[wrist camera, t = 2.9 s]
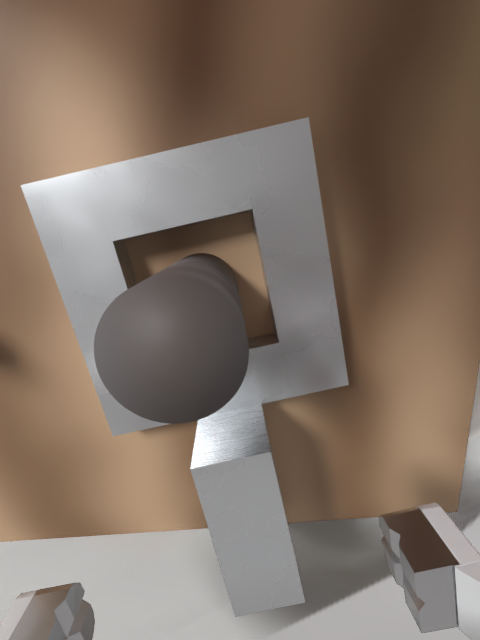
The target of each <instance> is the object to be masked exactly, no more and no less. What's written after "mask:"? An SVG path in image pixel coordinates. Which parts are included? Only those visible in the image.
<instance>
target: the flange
mask: <svg viewBox="0 0 480 640" xmlns="http://www.w3.org/2000/svg"><path fill="white" fill-rule="evenodd" d="M21 188H22V191H23V193H24V196H25V199H26V202H27V204H28V207H29V210H30V213H31V215H32V218H33V221H34V223H35V226H36V229H37V232H38V234H39V237H40V240H41V242H42V245H43V248H44V251H45V253H46V256H47V259H48V261H49V264H50V267H51V270H52V272H53V275H54V278H55V281H56V283H57V286H58V289H59V291H60V294H61V297H62V300H63V302H64V305H65V308H66V310H67V313H68V316H69V319H70V321H71V324H72V327H73V329H74V332H75V335H76V338H77V340H78V343H79V346H80V348H81V351H82V354H83V357H84V359H85V362H86V365H87V368H88V370H89V373H90V376H91V378H92V381H93V384H94V387H95V389H96V392H97V395H98V397H99V400H100V403H101V406H102V408H103V411H104V414H105V416H106V419H107V422H108V425H109V427H110V430H111V433H112V436H117V435H121V434H126V433H131V432H135V431H140V430H144V429H149V428H154V427H158V426H163V425H167V424H169V423H160V422H156V421H151V420H148V419H145V418H143V417H140V416H138V415H136V414H134V413H132V412H131V411H129V410H128V409H126V408H125V407H123V406H122V405H121V404H120V403H119V402H117V401H116V400H115V398H114V397H113V396H112V395H111V394H110V393H109V391H108V390H107V389H106V387H105V386H104V384H103V382H102V380H101V378H100V376H99V374H98V371H97V368H96V364H95V360H94V338H95V332H96V329H97V326H98V323H99V321H100V319H101V317H102V315H103V313H104V312H105V310H106V309H107V307H108V306H109V305H110V304H111V303H112V302H113V301H114V299H115V298H116V297H118V296H119V295H120V294H122V293H123V292H124V291H126V290H128V289H129V288H131V287H133V286H135V285H136V284H137V282H136V279H135V275H134V272H133V269H132V265H131V262H130V259H129V256H128V252H127V249H126V246H125V242H124V240H128V239H133V238H137V237H141V236H146V235H150V234H154V233H159V232H163V231H167V230H172V229H176V228H180V227H185V226H189V225H193V224H198V223H202V222H206V221H210V220H215V219H219V218H223V217H228V216H232V215H236V214H241V213H245V212H249V211H250V214H251V219H252V224H253V229H254V234H255V239H256V244H257V248H258V253H259V258H260V263H261V268H262V273H263V278H264V283H265V288H266V293H267V297H268V302H269V307H270V312H271V317H272V322H273V327H274V332H275V333H272V334H267V335H263V336H258V337H254V338H249V339H248V347H249V362H248V367H247V372H246V375H245V378H244V380H243V382H242V384H241V387H240V388H239V390H238V391H237V393H236V394H235V395H234V397H233V398H232V399H231V400H230V401H229V402H228V403H227V404H226V405H225V406H224V407H223V408H221V409H220V410H218V411H217V412H215V413H213V414H211V415H210V416H208V417H205V418H203V419H200V420H198V424H197V430H196V436H195V443H194V449H193V455H192V462H191V468H190V470H191V473H192V477H193V480H194V483H195V486H196V490H197V493H198V496H199V499H200V503H201V506H202V509H203V512H204V516H205V519H206V522H207V525H208V529H209V532H210V535H211V538H212V542H213V545H214V548H215V551H216V555H217V558H218V561H219V564H220V568H221V571H222V574H223V577H224V581H225V584H226V587H227V590H228V594H229V597H230V600H231V603H232V607H233V610H234V613H235V616H236V617H237V616H242V615H247V614H252V613H257V612H262V611H267V610H272V609H276V608H281V607H286V606H291V605H296V604H301V603H305V598H304V593H303V589H302V584H301V579H300V574H299V570H298V565H297V560H296V555H295V551H294V546H293V541H292V536H291V531H290V527H289V522H288V517H287V512H286V508H285V503H284V499H283V494H282V490H281V486H280V481H279V477H278V473H277V468H276V464H275V459H274V455H273V451H272V446H271V442H270V437H269V433H268V429H267V424H266V420H265V415H264V411H263V407H262V404H264V403H268V402H273V401H277V400H282V399H286V398H291V397H296V396H300V395H305V394H309V393H314V392H319V391H323V390H328V389H332V388H337V387H341V386H346V385H349V383H348V376H347V369H346V363H345V356H344V349H343V343H342V336H341V329H340V323H339V316H338V309H337V303H336V296H335V289H334V283H333V276H332V269H331V263H330V256H329V249H328V243H327V236H326V229H325V223H324V216H323V209H322V203H321V196H320V189H319V183H318V176H317V169H316V163H315V156H314V149H313V143H312V136H311V129H310V123H309V117H307V118H303V119H299V120H295V121H290V122H286V123H282V124H278V125H273V126H269V127H265V128H261V129H256V130H252V131H248V132H244V133H240V134H235V135H231V136H227V137H223V138H218V139H214V140H210V141H206V142H202V143H197V144H193V145H189V146H185V147H180V148H176V149H172V150H168V151H163V152H159V153H155V154H151V155H147V156H142V157H138V158H134V159H130V160H125V161H121V162H117V163H113V164H108V165H104V166H100V167H96V168H92V169H87V170H83V171H79V172H75V173H70V174H66V175H62V176H58V177H54V178H49V179H45V180H41V181H37V182H32V183H28V184H24V185H21Z"/></svg>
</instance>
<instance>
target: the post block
mask: <svg viewBox="0 0 480 640" xmlns="http://www.w3.org/2000/svg"><path fill="white" fill-rule="evenodd" d="M307 117H309V123H310V129H311V136H312V143H313V149H314V156H315V163H316V169H317V176H318V183H319V189H320V196H321V203H322V209H323V216H324V223H325V229H326V236H327V243H328V249H329V256H330V263H331V269H332V276H333V283H334V289H335V296H336V303H337V309H338V316H339V323H340V329H341V336H342V343H343V349H344V356H345V363H346V369H347V376H348V383H349V385H346V386H341V387H337V388H332V389H328V390H323V391H319V392H314V393H309V394H305V395H300V396H296V397H291V398H286V399H282V400H277V401H273V402H268V403H264V404H262V407H263V411H264V415H265V420H266V424H267V429H268V433H269V437H270V442H271V446H272V451H273V455H274V459H275V464H276V468H277V473H278V477H279V481H280V486H281V490H282V494H283V499H284V503H285V508H286V512H287V517H288V522H289V523H293V522H308V521H323V520H339V519H354V518H369V517H379V515H382V514H386V513H391V512H395V511H399V510H403V509H408V508H412V507H417V506H422V505H426V504H431V503H437V504H439V505H440V506H441V507H442V509H443V510H444V511H445V512H457V510H458V503H459V497H460V490H461V483H462V476H463V470H464V463H465V456H466V449H467V443H468V436H469V429H470V422H471V416H472V409H473V402H474V395H475V389H476V382H477V375H478V368H479V362H480V0H0V542H5V541H20V540H35V539H50V538H65V537H81V536H96V535H111V534H126V533H141V532H156V531H172V530H187V529H202V528H208V525H207V522H206V519H205V516H204V512H203V509H202V506H201V503H200V499H199V496H198V493H197V490H196V486H195V483H194V480H193V477H192V473H191V470H190V468H191V462H192V455H193V449H194V443H195V436H196V430H197V424H198V420H200V419H203V418H205V417H208V416H210V415H211V414H213V413H215V412H217V411H218V410H220V409H221V408H223V407H224V406H225V405H226V404H227V403H228V402H229V401H230V400H231V399H232V398H233V397H234V395H235V394H236V393H237V391H238V390H239V388H240V387H241V384H242V382H243V380H244V378H245V375H246V372H247V367H248V362H249V347H248V339H249V338H254V337H258V336H263V335H267V334H272V333H275V332H274V327H273V322H272V317H271V312H270V307H269V302H268V297H267V293H266V288H265V283H264V278H263V273H262V268H261V263H260V258H259V253H258V248H257V244H256V239H255V234H254V229H253V224H252V219H251V214H250V211H249V212H245V213H241V214H236V215H232V216H228V217H223V218H219V219H215V220H210V221H206V222H202V223H198V224H193V225H189V226H185V227H180V228H176V229H172V230H167V231H163V232H159V233H154V234H150V235H146V236H141V237H137V238H133V239H128V240H124V242H125V246H126V249H127V252H128V256H129V259H130V262H131V265H132V269H133V272H134V275H135V279H136V282H137V284H136V285H135V286H133V287H131V288H129V289H128V290H126V291H124V292H123V293H122V294H120V295H119V296H118V297H116V298H115V299H114V301H113V302H112V303H111V304H110V305H109V306H108V307H107V309H106V310H105V312H104V313H103V315H102V317H101V319H100V321H99V323H98V326H97V329H96V332H95V338H94V360H95V364H96V368H97V371H98V374H99V376H100V378H101V380H102V382H103V384H104V386H105V387H106V389H107V390H108V391H109V393H110V394H111V395H112V396H113V397H114V398H115V400H116V401H117V402H119V403H120V404H121V405H122V406H123V407H125V408H126V409H128V410H129V411H131V412H132V413H134V414H136V415H138V416H140V417H143V418H145V419H148V420H151V421H156V422H160V423H169V424H167V425H163V426H158V427H154V428H149V429H144V430H140V431H135V432H131V433H126V434H121V435H117V436H112V433H111V430H110V427H109V425H108V422H107V419H106V416H105V414H104V411H103V408H102V406H101V403H100V400H99V397H98V395H97V392H96V389H95V387H94V384H93V381H92V378H91V376H90V373H89V370H88V368H87V365H86V362H85V359H84V357H83V354H82V351H81V348H80V346H79V343H78V340H77V338H76V335H75V332H74V329H73V327H72V324H71V321H70V319H69V316H68V313H67V310H66V308H65V305H64V302H63V300H62V297H61V294H60V291H59V289H58V286H57V283H56V281H55V278H54V275H53V272H52V270H51V267H50V264H49V261H48V259H47V256H46V253H45V251H44V248H43V245H42V242H41V240H40V237H39V234H38V232H37V229H36V226H35V223H34V221H33V218H32V215H31V213H30V210H29V207H28V204H27V202H26V199H25V196H24V193H23V191H22V188H21V185H24V184H28V183H32V182H37V181H41V180H45V179H49V178H54V177H58V176H62V175H66V174H70V173H75V172H79V171H83V170H87V169H92V168H96V167H100V166H104V165H108V164H113V163H117V162H121V161H125V160H130V159H134V158H138V157H142V156H147V155H151V154H155V153H159V152H163V151H168V150H172V149H176V148H180V147H185V146H189V145H193V144H197V143H202V142H206V141H210V140H214V139H218V138H223V137H227V136H231V135H235V134H240V133H244V132H248V131H252V130H256V129H261V128H265V127H269V126H273V125H278V124H282V123H286V122H290V121H295V120H299V119H303V118H307Z"/></svg>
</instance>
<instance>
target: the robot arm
mask: <svg viewBox="0 0 480 640" xmlns="http://www.w3.org/2000/svg"><path fill="white" fill-rule="evenodd" d="M379 525H380V528H381V530H382V532H383V534H384V537H383V539H382V545H383V551H384V554H385V557H386V560H387V563H388V566H389V568H390V571H391V573H392V575H393V577H394V579H395V581H396V583H397V584H398V585H400V586H401V587H403V588H404V592H405V599H406V603H407V605H408V607H409V609H410V611H411V613H412V615H413V617H414V619H415V621H416V623H417V625H418V627H419V629H420V631H421V633H426V632H432V631H437V630H442V629H448V628H454V627H459V629H460V630H461V631H462V632H463V633H464V634H465V635H467V636H468V637H469V638H470V639H471V640H480V554H479V553H478V552H477V550H476V549H475V548H474V547H473V546H472V544H471V543H470V542H469V541H468V539H467V538H466V537H465V536H464V534H463V533H462V532H461V531H460V530H459V528H458V527H457V526H456V525H455V523H454V522H453V521H452V520H451V519H450V517H449V516H448V515H447V514H446V512H445V511H444V510H443V509H442V507H441V506H440V505H439V504H437V503H431V504H426V505H422V506H417V507H412V508H408V509H403V510H399V511H395V512H391V513H386V514H382V515H379ZM84 592H85V591H84V589H83V587H82V585H81V583H71V584H66V585H61V586H56V587H50V588H45V589H40V590H36V591H31V592H26V593H21V594H20V595H19V596H18V597H17V598H16V599H15V600H14V602H13V603H12V605H11V607H10V608H9V610H8V612H7V614H6V615H5V617H4V619H3V620H2V622H1V624H0V640H92V638H93V633H94V624H95V619H94V612H93V609H92V607H91V604H89V603H88V602H86V601H84V600H83V599H82V598H83V595H84Z"/></svg>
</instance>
